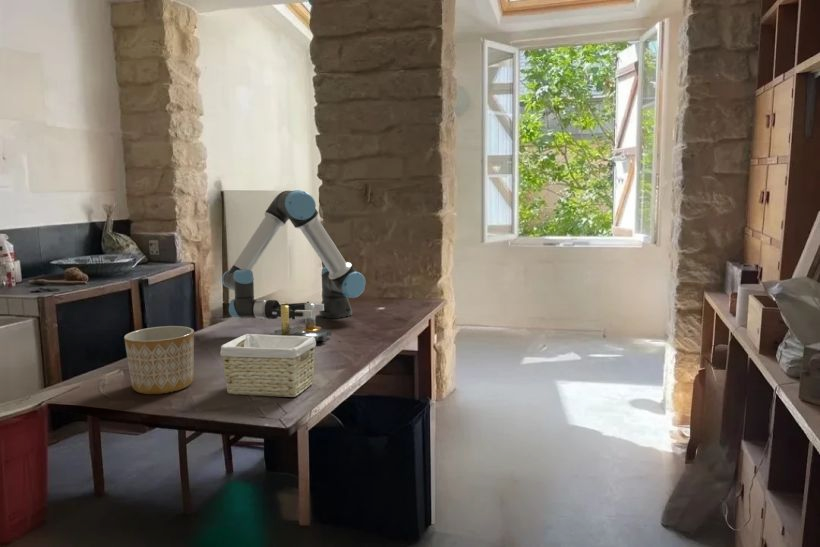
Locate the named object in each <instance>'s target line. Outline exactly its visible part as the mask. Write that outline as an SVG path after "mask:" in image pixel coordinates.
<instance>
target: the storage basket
mask: <svg viewBox="0 0 820 547" xmlns="http://www.w3.org/2000/svg"><path fill="white" fill-rule="evenodd" d="M316 346H317V342H316V341H315V338H314V337H304V336H278V335H271V334H256V333H253V334H252V333H246V334H243V335H241V336H239V337H236V338H234V339H232V340H231V341H228V342H226V343H224V344H222V345H221V346H220V354H219V355H220V356H221V357H222V363H223V373H224V379H225V382H226V383H225V386H226V392H227V394H229V395H230V394H231V395H243V396H245V395H247V396H265V397H280V398H281V397H283V398H287V397H289V398H295V397H298V396H299V395H301V393H303V392H304V391H306V390H307V389H308V388H309V387H310V386H311V385H313V384H314V371H315V368H314V366H315V357H314V356H315V351H316V350H315V347H316Z"/></svg>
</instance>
